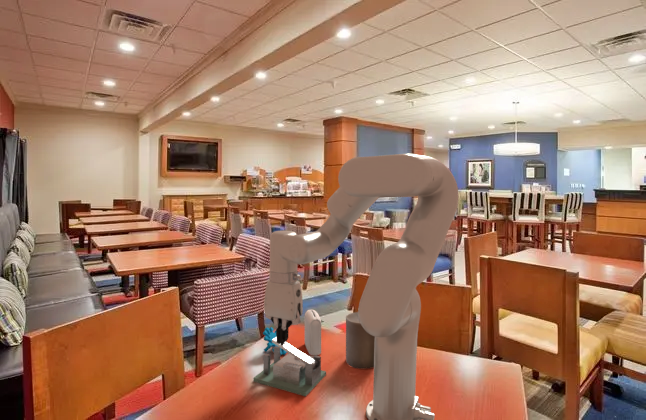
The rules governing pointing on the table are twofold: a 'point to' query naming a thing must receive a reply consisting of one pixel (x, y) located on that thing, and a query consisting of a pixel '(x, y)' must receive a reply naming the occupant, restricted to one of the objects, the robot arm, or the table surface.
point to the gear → (269, 337)
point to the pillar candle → (358, 344)
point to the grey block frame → (292, 369)
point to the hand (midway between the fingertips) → (282, 341)
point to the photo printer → (313, 332)
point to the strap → (295, 352)
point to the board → (300, 390)
